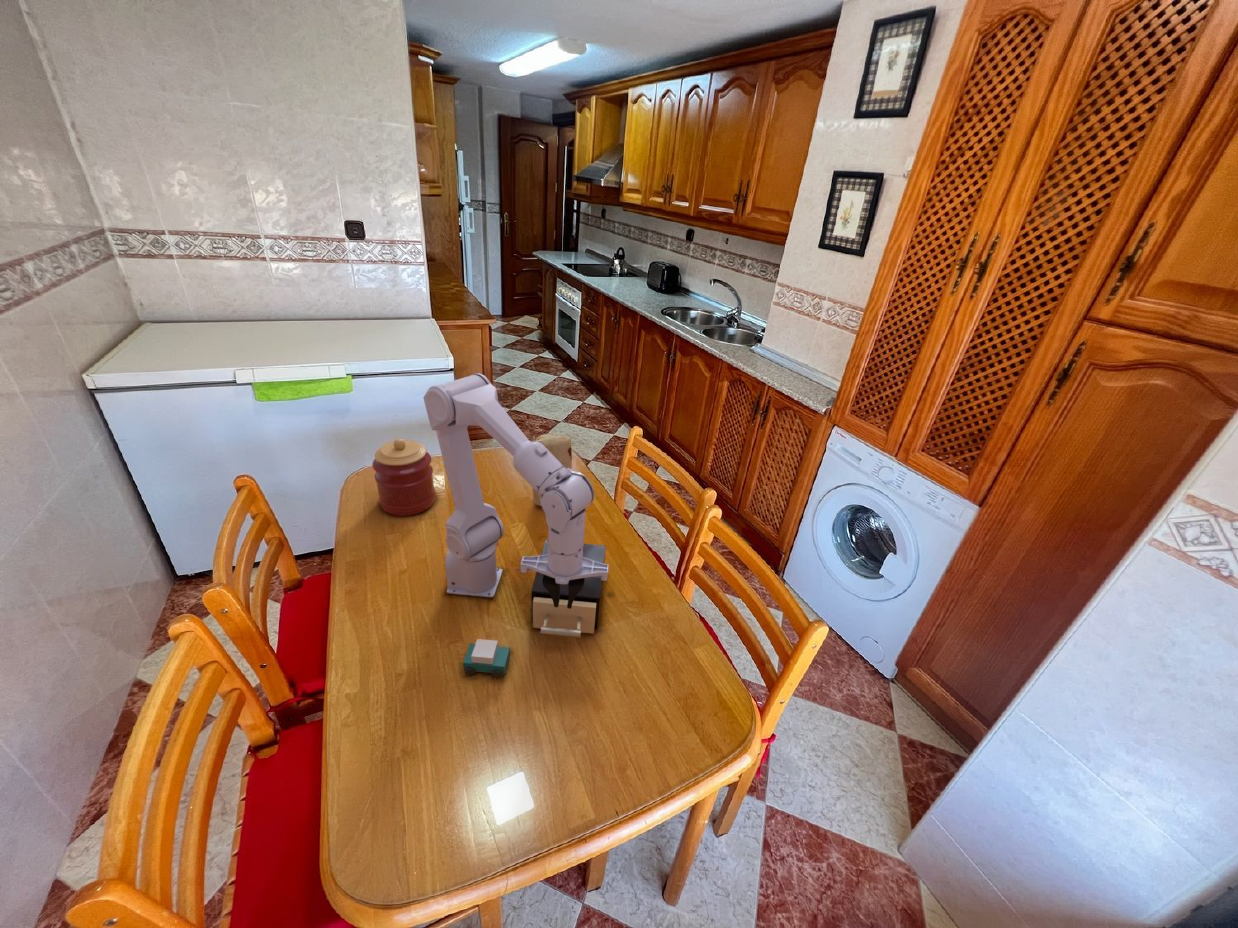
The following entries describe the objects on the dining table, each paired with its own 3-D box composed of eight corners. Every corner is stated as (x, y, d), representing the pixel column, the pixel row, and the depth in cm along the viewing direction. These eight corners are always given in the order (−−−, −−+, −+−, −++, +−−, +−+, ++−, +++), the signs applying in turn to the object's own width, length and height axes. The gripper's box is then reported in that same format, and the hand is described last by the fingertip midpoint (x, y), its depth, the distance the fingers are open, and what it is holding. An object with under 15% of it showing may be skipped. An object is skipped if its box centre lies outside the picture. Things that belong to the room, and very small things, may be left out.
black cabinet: (597, 629, 94) (600, 597, 90) (531, 623, 94) (531, 590, 90) (602, 576, 107) (605, 545, 103) (544, 570, 107) (545, 539, 102)
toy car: (463, 674, 84) (461, 658, 82) (471, 650, 88) (470, 634, 86) (504, 678, 84) (503, 662, 82) (511, 654, 88) (510, 638, 86)
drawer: (591, 652, 89) (593, 626, 85) (528, 646, 89) (527, 620, 85) (599, 582, 104) (601, 557, 101) (545, 576, 104) (545, 552, 101)
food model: (534, 513, 124) (534, 443, 114) (530, 498, 129) (529, 430, 119) (572, 509, 127) (575, 440, 117) (567, 494, 132) (569, 427, 122)
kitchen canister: (429, 482, 131) (421, 423, 123) (442, 509, 122) (434, 446, 113) (376, 494, 125) (363, 432, 116) (385, 522, 116) (372, 457, 107)
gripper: (515, 555, 77) (517, 617, 83) (608, 564, 77) (602, 625, 83) (525, 527, 83) (526, 587, 90) (611, 536, 83) (605, 594, 90)
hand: (563, 603), depth 87 cm, fingers closed
